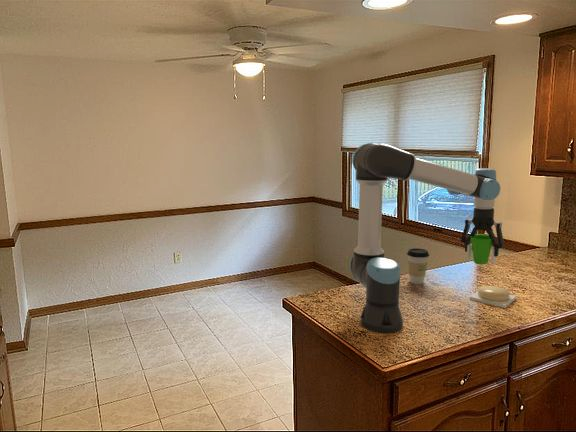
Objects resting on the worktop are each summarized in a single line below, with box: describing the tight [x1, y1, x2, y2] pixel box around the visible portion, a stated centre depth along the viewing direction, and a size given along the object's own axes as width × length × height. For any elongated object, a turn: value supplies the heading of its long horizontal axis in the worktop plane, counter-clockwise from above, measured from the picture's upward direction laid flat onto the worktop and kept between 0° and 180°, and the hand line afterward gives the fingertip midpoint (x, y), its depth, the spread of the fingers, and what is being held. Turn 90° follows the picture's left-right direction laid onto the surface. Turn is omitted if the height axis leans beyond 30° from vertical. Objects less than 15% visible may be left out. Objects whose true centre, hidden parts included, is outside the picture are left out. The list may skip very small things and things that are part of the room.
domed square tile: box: [469, 285, 517, 309], centre depth 185 cm, size 14×14×4 cm
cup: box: [470, 233, 493, 266], centre depth 181 cm, size 9×9×11 cm
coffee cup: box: [406, 248, 430, 285], centre depth 207 cm, size 10×10×15 cm
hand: (480, 261), depth 182 cm, fingers closed on cup, 9 cm apart
